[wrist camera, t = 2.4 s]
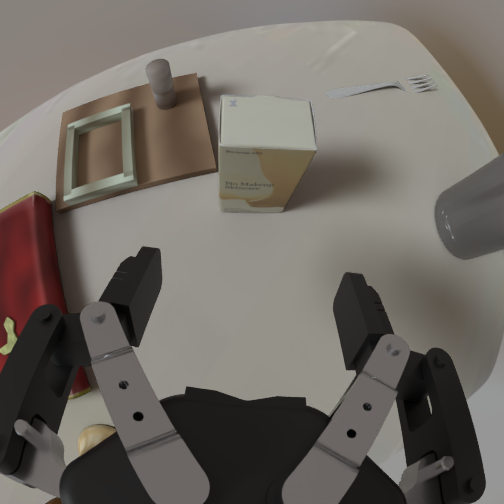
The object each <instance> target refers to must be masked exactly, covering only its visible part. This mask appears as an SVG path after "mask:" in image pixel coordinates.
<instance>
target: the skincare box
mask: <svg viewBox="0 0 504 504" xmlns="http://www.w3.org/2000/svg"><path fill="white" fill-rule="evenodd" d="M317 149H318V147H317V136H316V126H315V117H314V110H313V104H312V102H311V101H310V100H304V99H295V98H284V97H275V96H262V95H261V96H252V95H221V100H220V111H219V133H218V162H219V201H220V211H221V212H241V213H281V212H282V211H283V209H284V208H285V206H286V204H287V202H288V201H289V199H290V197H291V195H292V194H293V192H294V190H295V188H296V187H297V185H298V183H299V181H300V180H301V178H302V176H303V174H304V173H305V171H306V169H307V167H308V166H309V164H310V162H311V160H312V158H313V157H314V155H315V153H316V151H317Z"/></svg>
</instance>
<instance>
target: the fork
mask: <svg viewBox="0 0 504 504" xmlns="http://www.w3.org/2000/svg"><path fill="white" fill-rule="evenodd" d="M426 76H429V74H428V75H422V76H417V77H411V78H405V79H406V80H412V79H417V78H422V77H426ZM429 79H432V78H427V79H422V80H418V81H413V82H409V81H408V83H409V84H410V86H411V84H415V83H419V82H423V81H426V80H429ZM433 82H434V81H432V82H428V83H424V84H420V85H416V86H411V88H412V89H413V91H414V92H415V93H419V92H422V91H424V90H427V89H430V88H432V87H434V86H437V84H436V85H432V86H429V87H426V88H423V89H420V90H414V89H415V88H419V87H422V86H425V85H428V84H431V83H433ZM386 86H396V87H398V88H400V89H401V90H403V91H406V90H405V89H404V87H403V86H402V85H401V84H400V83H399V81H397V82H386V83H379V84H372V85H364V86H354V87H347V88H339V89H333V90H330V91H328V92H327V93H326V94H325V95H326V96H327V97H330V98H342V97H347V96H352V95H356V94H360V93H363V92H366V91H370V90H373V89H377V88H382V87H386Z"/></svg>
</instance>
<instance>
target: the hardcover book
mask: <svg viewBox="0 0 504 504" xmlns="http://www.w3.org/2000/svg"><path fill="white" fill-rule="evenodd" d="M44 304H54V305H56V306H58V307H59V309H60V311H61V313H62V314H68V311H67V307H66V303H65V298H64V293H63V288H62V283H61V278H60V272H59V266H58V260H57V253H56V246H55V237H54V228H53V218H52V205H51V200H50V199H49V198H47V197H46V196H45V195H43V194H41V193H39V192H35V191H34V192H32V193H30V194H28V195H26V196H24V197H22V198H20V199H19V200H17V201H15V202H13V203H12V204H10V205H8V206H6V207H5V208H3V209H1V210H0V373H1V370H2V368H3V366H4V364H5V362H6V360H7V358H8V356H9V354H10V352H11V350H12V348H13V346H14V344H15V343H16V341H17V339H18V337H19V335H20V333H21V332H22V330H23V328H24V326H25V325H26V323H27V321H28V319H29V318H30V316H31V314H32V313H33V311H34V310H35V309H36V308H38V307H39V306H41V305H44ZM90 391H91V388H90V385H89V382H88V379H87V376H86V374H85V371H84V368H83V366H80V367H79V369H78V372H77V375H76V377H75V380H74V383H73V386H72V389H71V392H70V395H69V398H68V399H74V398H77V397H80V396H82V395H84V394H86V393H88V392H90Z"/></svg>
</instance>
